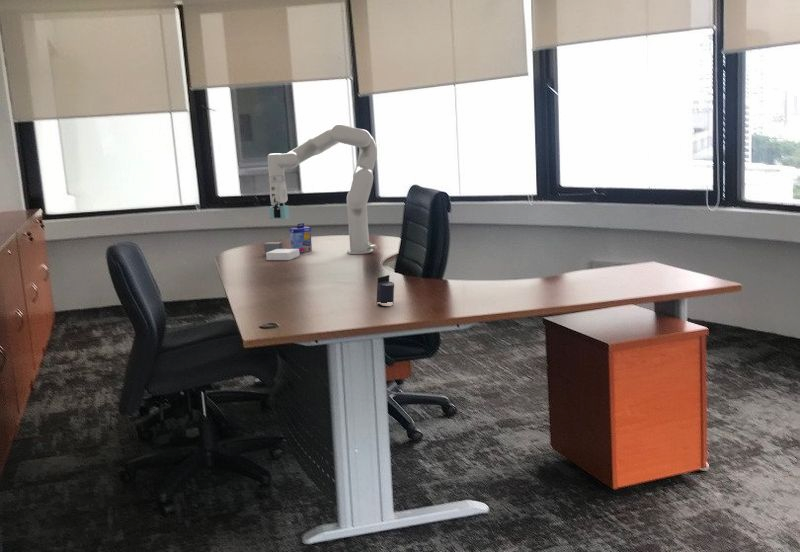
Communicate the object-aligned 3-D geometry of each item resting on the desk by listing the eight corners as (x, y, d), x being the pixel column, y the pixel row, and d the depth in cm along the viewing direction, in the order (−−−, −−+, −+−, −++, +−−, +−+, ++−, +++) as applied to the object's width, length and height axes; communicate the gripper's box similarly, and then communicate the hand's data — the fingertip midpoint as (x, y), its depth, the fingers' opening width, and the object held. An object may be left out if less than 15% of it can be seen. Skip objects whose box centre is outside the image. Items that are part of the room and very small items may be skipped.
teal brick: (289, 217, 441) (288, 205, 440) (285, 219, 437) (284, 206, 436) (274, 217, 444) (273, 205, 443) (270, 219, 440) (269, 206, 439)
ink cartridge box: (295, 253, 456) (292, 224, 454) (290, 252, 461) (288, 223, 459) (312, 250, 461) (310, 222, 459) (308, 249, 466) (306, 221, 463)
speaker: (372, 303, 327) (373, 275, 325) (387, 302, 330) (388, 274, 327) (380, 309, 321) (381, 281, 318) (395, 308, 323) (396, 280, 320)
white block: (299, 255, 448) (299, 248, 447) (289, 260, 436) (288, 252, 436) (277, 255, 452) (277, 248, 451) (266, 259, 440) (266, 252, 440)
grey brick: (283, 253, 457) (282, 242, 456) (279, 255, 453) (278, 243, 452) (269, 253, 460) (268, 242, 459) (265, 255, 456) (264, 243, 455)
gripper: (276, 180, 428) (279, 219, 431) (291, 177, 444) (294, 214, 447) (261, 181, 430) (264, 219, 434) (277, 177, 446) (280, 214, 449)
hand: (279, 216), depth 440 cm, fingers closed on teal brick, 4 cm apart
